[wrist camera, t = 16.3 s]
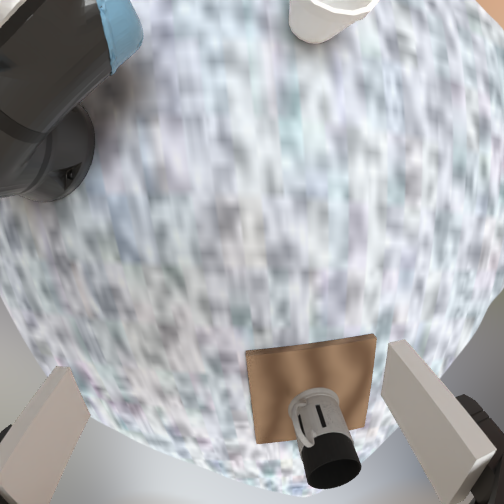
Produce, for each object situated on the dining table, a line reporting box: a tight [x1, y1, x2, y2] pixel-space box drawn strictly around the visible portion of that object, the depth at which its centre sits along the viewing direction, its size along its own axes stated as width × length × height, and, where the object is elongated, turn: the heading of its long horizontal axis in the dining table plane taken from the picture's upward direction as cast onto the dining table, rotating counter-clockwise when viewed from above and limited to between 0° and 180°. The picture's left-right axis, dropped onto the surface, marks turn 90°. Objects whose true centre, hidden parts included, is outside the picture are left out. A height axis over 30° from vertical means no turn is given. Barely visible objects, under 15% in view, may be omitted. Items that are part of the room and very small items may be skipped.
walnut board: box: [246, 334, 377, 444], centre depth 49 cm, size 20×20×2 cm
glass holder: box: [288, 388, 361, 489], centre depth 41 cm, size 9×14×15 cm, turn 34°
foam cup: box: [289, 0, 379, 44], centre depth 29 cm, size 10×9×13 cm
